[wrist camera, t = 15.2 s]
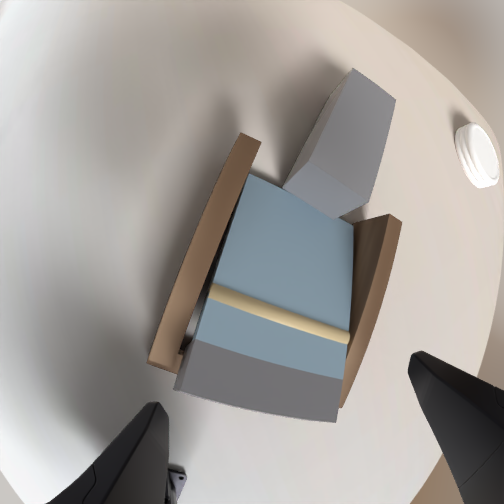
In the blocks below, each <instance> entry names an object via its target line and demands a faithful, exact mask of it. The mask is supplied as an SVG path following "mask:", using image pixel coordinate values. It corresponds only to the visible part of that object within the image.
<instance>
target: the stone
mask: <svg viewBox="0 0 504 504" xmlns="http://www.w3.org/2000/svg"><path fill="white" fill-rule="evenodd" d="M395 102H396V99H394V98H393V97H392V96H391V95H389V94H388V93H387V92H386V91H384V90H383V89H382V88H380V87H379V86H378V85H376V84H375V83H374V82H372V81H371V80H370V79H368V78H367V77H366V76H364V75H363V74H361V73H360V72H358V71H357V70H356V69H354V68H352V70H351V71H350V72H349V73H348V74H347V76H346V77H345V78H344V79H343V80H342V82H341V83H340V84H339V85H338V86H337V88H336V89H335V90H334V91H333V92H332V94H331V95H330V96H329V98H328V100H327V102H326V104H325V105H324V107H323V109H322V111H321V113H320V115H319V117H318V119H317V121H316V123H315V125H314V127H313V129H312V131H311V133H310V135H309V136H308V138H307V140H306V142H305V144H304V146H303V148H302V150H301V152H300V154H299V156H298V158H297V160H296V162H295V164H294V166H293V168H292V169H291V171H290V173H289V175H288V177H287V179H286V181H285V183H284V185H283V187H282V188H283V189H285V190H286V191H288V192H290V193H291V194H293V195H295V196H296V197H298V198H300V199H301V200H303V201H304V202H306V203H308V204H309V205H311V206H312V207H314V208H315V209H317V210H319V211H320V212H322V213H323V214H325V215H326V216H328V217H329V218H331V219H333V220H334V219H336V218H338V217H340V216H342V215H344V214H346V213H348V212H350V211H352V210H354V209H356V208H358V207H360V206H362V205H364V204H366V203H368V202H369V199H370V196H371V193H372V190H373V187H374V183H375V180H376V177H377V173H378V170H379V166H380V163H381V159H382V155H383V152H384V148H385V144H386V140H387V136H388V132H389V128H390V124H391V120H392V116H393V111H394V107H395Z"/></svg>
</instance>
